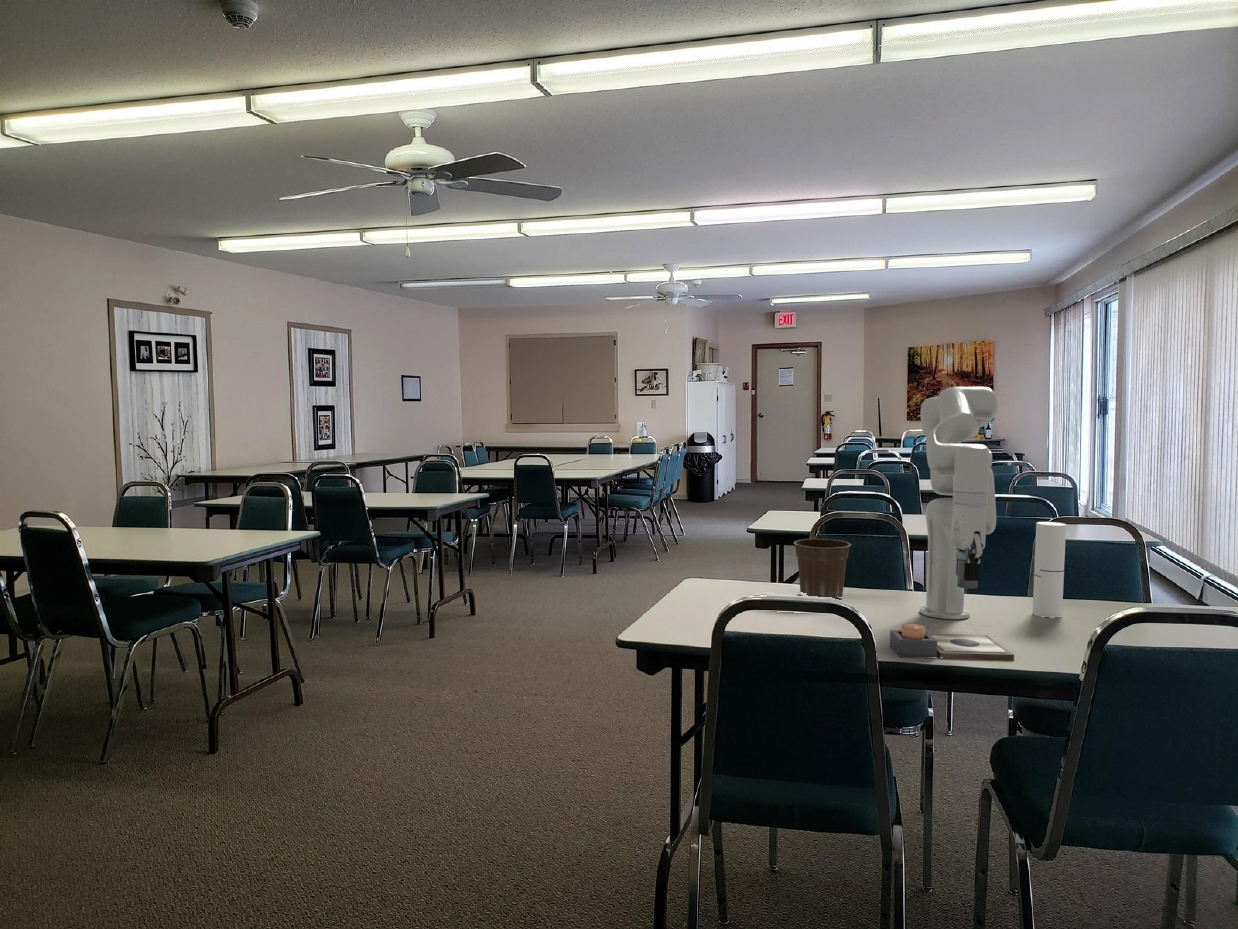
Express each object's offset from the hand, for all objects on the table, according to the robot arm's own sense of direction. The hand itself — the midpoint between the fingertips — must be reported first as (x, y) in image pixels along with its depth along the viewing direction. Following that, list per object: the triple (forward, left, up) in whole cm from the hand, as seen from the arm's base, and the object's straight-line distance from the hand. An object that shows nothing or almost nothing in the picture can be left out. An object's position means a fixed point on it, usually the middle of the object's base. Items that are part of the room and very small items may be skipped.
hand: (967, 577), depth 193 cm
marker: (0, 0, -2) cm, 2 cm away
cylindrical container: (-35, +34, -17) cm, 52 cm away
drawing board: (0, 0, -17) cm, 17 cm away
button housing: (+4, -13, -17) cm, 22 cm away
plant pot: (-51, -24, -17) cm, 59 cm away
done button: (+4, -13, -14) cm, 20 cm away
